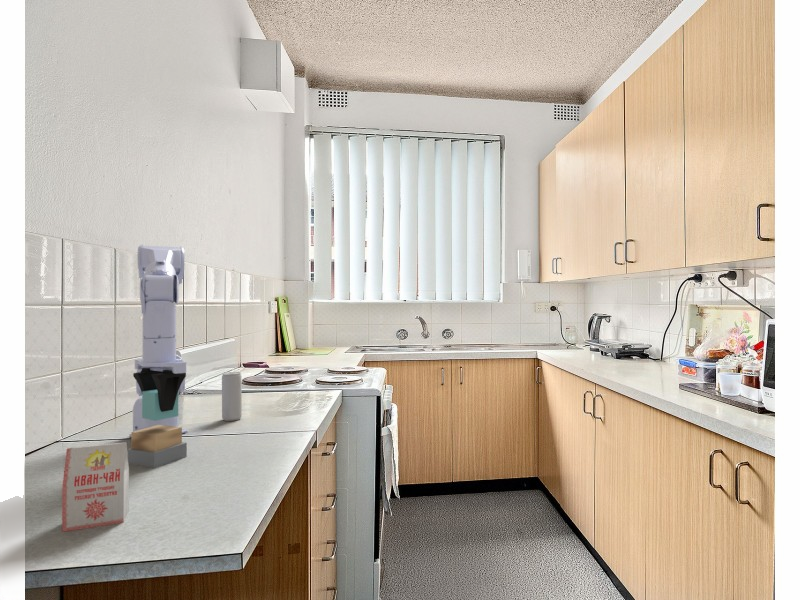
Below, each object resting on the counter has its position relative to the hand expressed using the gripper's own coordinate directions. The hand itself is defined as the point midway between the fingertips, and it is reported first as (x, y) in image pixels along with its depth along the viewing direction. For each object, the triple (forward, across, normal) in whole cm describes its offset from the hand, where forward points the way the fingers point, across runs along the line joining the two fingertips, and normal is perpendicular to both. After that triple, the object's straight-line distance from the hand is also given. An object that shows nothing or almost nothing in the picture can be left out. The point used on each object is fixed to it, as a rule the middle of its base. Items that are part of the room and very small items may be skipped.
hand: (159, 409), depth 88 cm
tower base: (+10, 0, 0) cm, 10 cm away
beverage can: (+10, +17, -28) cm, 34 cm away
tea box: (+10, -19, +19) cm, 28 cm away
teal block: (+2, 0, 0) cm, 2 cm away
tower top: (+7, 0, 0) cm, 7 cm away
